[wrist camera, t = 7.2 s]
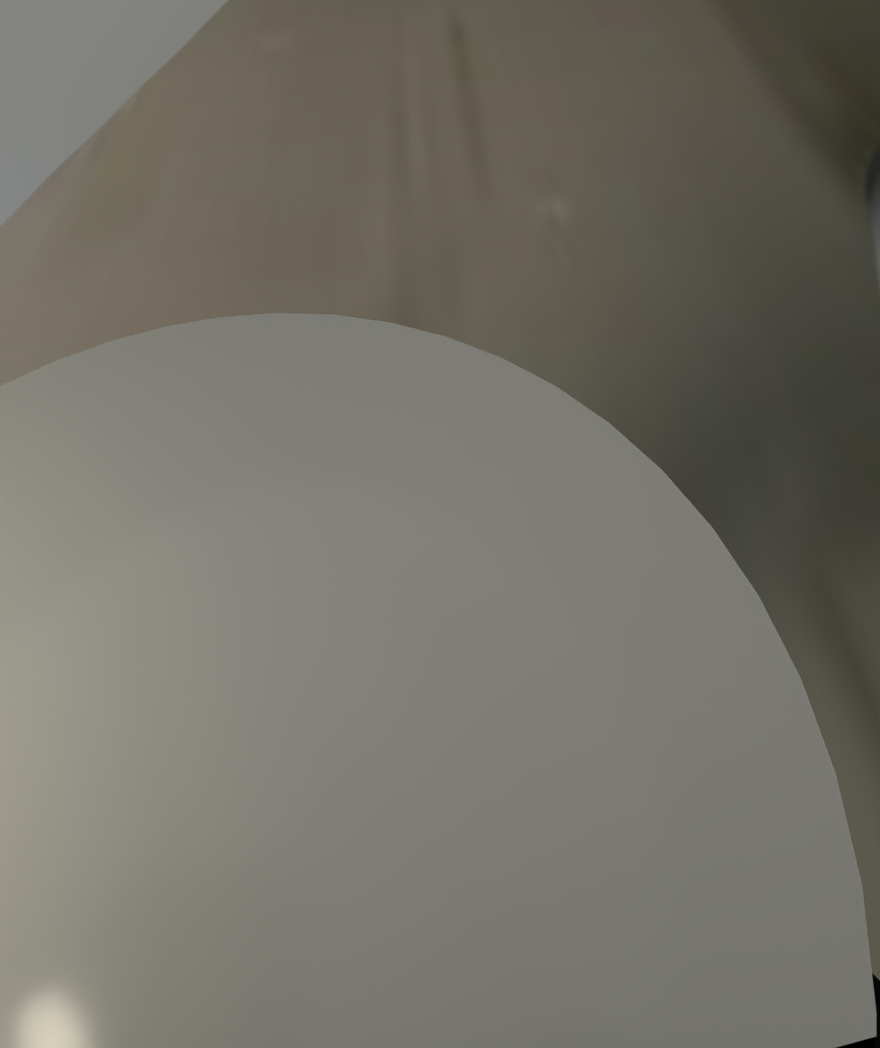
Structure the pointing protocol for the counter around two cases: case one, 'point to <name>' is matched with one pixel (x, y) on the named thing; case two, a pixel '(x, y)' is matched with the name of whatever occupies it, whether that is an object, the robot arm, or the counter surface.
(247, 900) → the canister
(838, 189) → the counter surface
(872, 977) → the robot arm
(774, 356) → the counter surface
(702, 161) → the counter surface
